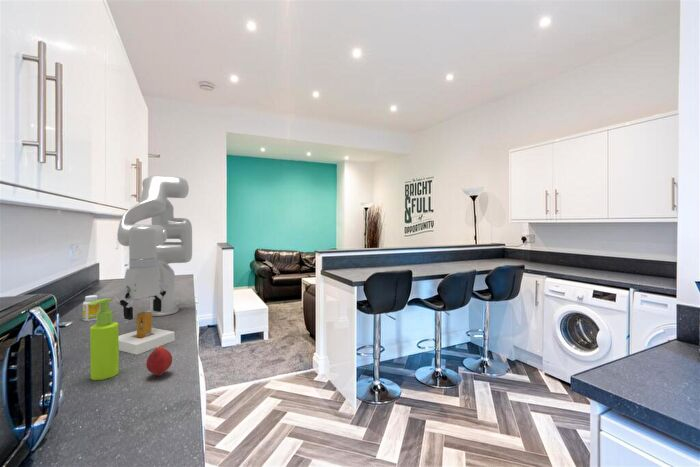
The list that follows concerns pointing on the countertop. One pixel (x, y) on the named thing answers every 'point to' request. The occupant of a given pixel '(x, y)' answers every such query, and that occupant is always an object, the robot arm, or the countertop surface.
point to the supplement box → (144, 324)
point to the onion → (159, 361)
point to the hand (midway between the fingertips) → (143, 315)
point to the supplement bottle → (90, 308)
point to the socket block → (144, 341)
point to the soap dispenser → (104, 343)
